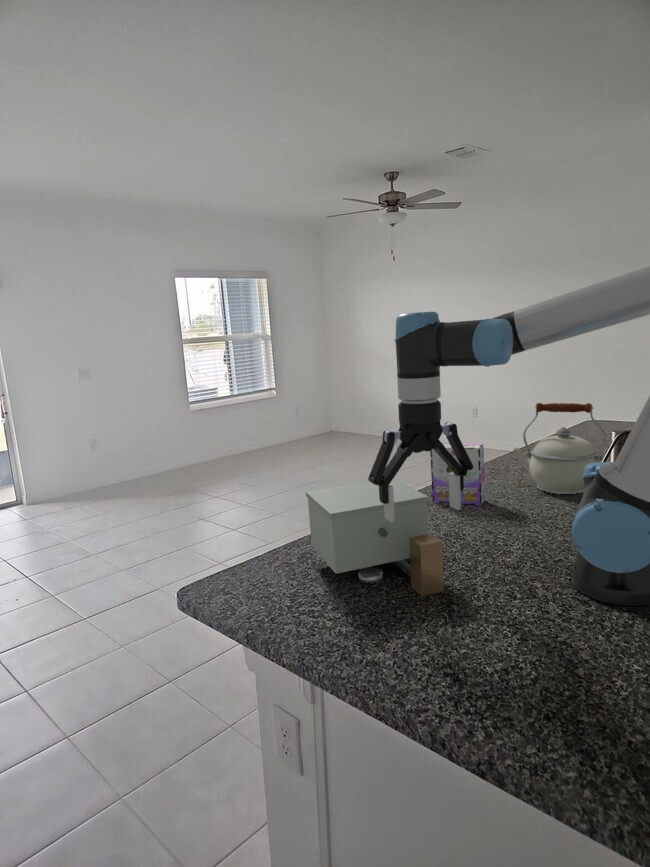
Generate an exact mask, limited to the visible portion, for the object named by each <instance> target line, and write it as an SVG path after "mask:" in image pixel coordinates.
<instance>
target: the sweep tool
mask: <svg viewBox="0 0 650 867" xmlns="http://www.w3.org/2000/svg"><path fill="white" fill-rule="evenodd" d="M409 547H410V558H409V562H407V561H406V559H403V560H399V561H394V565H395V566H396V567H398V568H399V569H400V570H401V571H403V573H405V574H406V575H407V576H408V577H409V578H410V585H411V588H412V589H413V590H415V591H416V592H417V593H418V594H419V595H420V596H421V597H426V596H430V595H435V594H439V593H442V592H443V593H444V592H445V586H444V560H443V556H444V553H443V540H441V539H439V538H438V537H437V536H435V535H434V534H432V533H428V534H425V535H420V536H415V537H410V538H409Z"/></svg>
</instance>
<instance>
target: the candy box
mask: <svg viewBox="0 0 650 867" xmlns="http://www.w3.org/2000/svg"><path fill="white" fill-rule="evenodd" d="M441 443H442V444H443V445H444V446H445V448H446V449H447V451H448V452H449V453H450V454H451V455H452V456H453V457H454V458H455V460H456V461H457V462H458V463H459V461H458V459H457V457H456V455H455V453H454V451H453V449H452V447H451V445H450V443H449V442H448V443H447V442H441ZM462 444H463V446H464V448H465V450H466V452H467V454H468V456H469V458H470V460H471V462H472V464H473V469H472V470H468V471H467V474H466V475H465V476H464V489H463V491H460V499H461V506H471V505H474V507H482V506H483V504H484V503H485V501H486V480H485V479H486V478H485V476H486V473H485V447H484V445H485V444H484V443H462ZM429 452H430V454H429V455H430V470H431V471H430V473H431V474H430V476H431V490H432V491H431V494H432V497H431V499H432V503H433V502H436V503H435V504H442V503H449V504H448V505H450V499H449V473H454V472H453V471H452V469H451V468H450V467H449V466H448V465H447V464H446V463H445V462H444V461H443V459H442V458H441V457H440V456H439V455H438V454H437V453H436V452H435V451H434V450H433V449H432V450H431V451H429ZM459 464H460V463H459Z"/></svg>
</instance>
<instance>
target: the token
mask: <svg viewBox="0 0 650 867" xmlns="http://www.w3.org/2000/svg"><path fill="white" fill-rule="evenodd" d="M357 574H358V579H359V580H360V581H362V582H365V583H374V582H378V581H381V580H383V578H384V572H383V569H381V568H379V567H374V566H370V567H366V568H361V569H358V572H357Z"/></svg>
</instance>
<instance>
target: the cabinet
mask: <svg viewBox="0 0 650 867" xmlns="http://www.w3.org/2000/svg"><path fill="white" fill-rule="evenodd" d="M389 485H391V486H393V493H394V516H395V521H394V522H390V521H389V520H387V519H386V518H385V513H384V504H383V503H381V502H380V500H379V486H378V485H374V484H373V483H371V482H370V481H369V480H368V481H365V482H358V483H351V484H346V485H341V486H340V485H339V486H332V487H327V488H326V487H325V488H321V489H314V490H309V491H305V497H306V498H307V505H308V518H309V527H310V541H311V547H312V548H313V549H314V550H315V552H316V553H318V555H319V556H320V557H321V558H322V559H323V561H324V562H325V563H326V564H327V565H328V567H329V568H330V569H331V570H332V572H334V573H335V574H336V575H337V574H342V573H346V572H350V571H351V572H352V571H357V570H361V569H363V568H367V567H374V566H379V565H384V564H389V563H393V562H394V563H395V561H399V560H403V559H404V560H406V559H407V560H408V559H410V547H409V538H410V537H415V536H420V535H425V534H429V533H428V531H429V529H428V509H427V508H428V504H427V502H429V496H428V495H426V494H425V493H422V492H421V491H419V490H417V489H415V488H413V487H412V486H410V485H408V484H405V483H404V482H402V481H400V480H398V479H396V478H395V477H394V478H393V480H392V481H391V483H390V484H389Z"/></svg>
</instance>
